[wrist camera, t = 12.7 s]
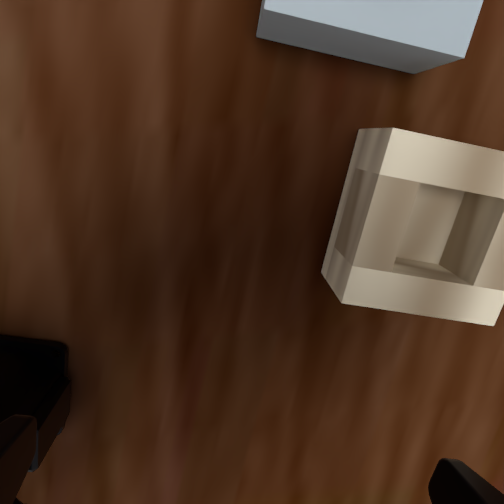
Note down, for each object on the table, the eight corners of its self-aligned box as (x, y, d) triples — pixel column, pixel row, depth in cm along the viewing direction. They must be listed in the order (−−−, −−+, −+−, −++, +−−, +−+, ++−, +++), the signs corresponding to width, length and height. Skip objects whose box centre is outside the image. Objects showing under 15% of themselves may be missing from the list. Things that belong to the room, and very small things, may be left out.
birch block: (320, 272, 21) (341, 303, 17) (359, 129, 18) (392, 127, 15) (447, 292, 22) (493, 326, 18) (499, 158, 19) (565, 164, 16)
